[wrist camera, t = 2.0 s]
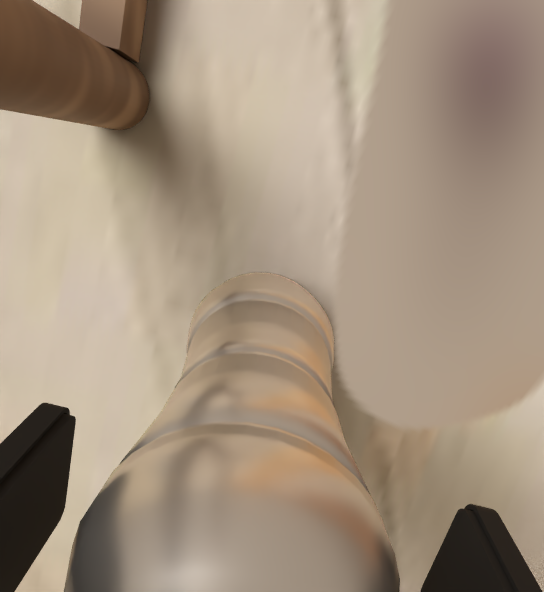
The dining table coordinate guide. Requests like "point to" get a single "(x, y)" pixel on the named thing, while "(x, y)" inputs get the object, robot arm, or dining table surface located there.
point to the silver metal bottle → (241, 467)
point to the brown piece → (74, 63)
